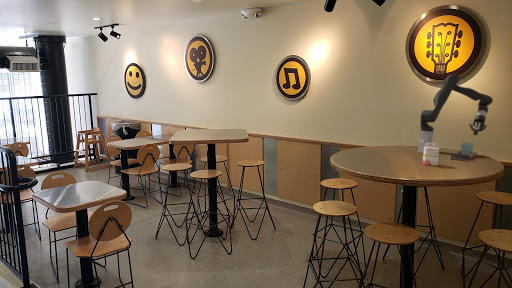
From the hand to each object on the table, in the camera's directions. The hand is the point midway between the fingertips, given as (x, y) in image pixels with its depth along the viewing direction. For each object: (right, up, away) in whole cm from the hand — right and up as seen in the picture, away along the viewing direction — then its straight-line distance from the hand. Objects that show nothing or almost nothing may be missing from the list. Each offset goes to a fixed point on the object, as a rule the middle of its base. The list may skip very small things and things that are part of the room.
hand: (475, 134), depth 299 cm
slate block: (-13, -16, -12) cm, 24 cm away
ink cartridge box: (-52, -21, -38) cm, 68 cm away
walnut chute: (-18, -18, -17) cm, 30 cm away
